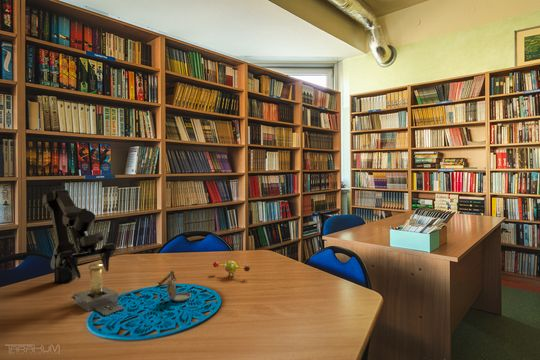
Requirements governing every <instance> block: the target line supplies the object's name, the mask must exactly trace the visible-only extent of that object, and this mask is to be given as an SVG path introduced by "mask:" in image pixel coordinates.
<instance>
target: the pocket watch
mask: <svg viewBox="0 0 540 360" xmlns="http://www.w3.org/2000/svg"><path fill="white" fill-rule="evenodd" d="M169 274H171V273H170V272H169ZM170 279H171V280H170ZM170 279H168V280H167V285H166V286H167V287H166V289H167V294H168V297H169V299H170V300H172V301H174V302H184V301H187V300H188V301H189V299H190V298H191V296H192V294H191V293H190V292H178V293H177V288H176V284H175V282H174V279H173V275H172V274H171V275H170Z"/></svg>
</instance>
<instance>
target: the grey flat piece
mask: <svg viewBox="0 0 540 360" xmlns="http://www.w3.org/2000/svg"><path fill="white" fill-rule="evenodd" d="M72 297H73V298H75V302H74V303H75V305H77V306H78V307H80V308H82V309H83V310H84V311H86V312H90V311H91V312H92V311H94V310H95V311H96V312H97V313H99V312H100V313H99V314H101V313H102V314H101V315H103V316H104V315H105V317H107V316H110V315H112V314H111V313H113V312H116V311H118V312H120V311H119V310H121V311H123V310H122V309H124V308H125V307H122V306H121V305H119V304H118V303H117V302H119V293H118V292H116V291H115V290H113V289H110V288H109V287H106V286H102V295H101V296H98V297H95V298H91V289H88V290H85V291H81V292H78V293H75V294H72ZM124 310H125V309H124ZM116 313H117V312H116ZM109 314H110V315H109ZM113 314H114V313H113ZM106 315H107V316H106Z"/></svg>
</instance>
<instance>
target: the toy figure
mask: <svg viewBox="0 0 540 360" xmlns="http://www.w3.org/2000/svg"><path fill="white" fill-rule="evenodd" d="M212 266H213V267H214V268H218V267H219V266H220V268H224V269H225V271H226V272H227V273H228V275H227V276H228V277H231V278H232V277H235V275H234V273H235V272H236V271H237V270H242V269H243V270H244V272H249V271H250V270H251V269H250V268H251V267H250V266H249V265H244V267H242V266H238V264H237V262H235V261H234V260H229V261H226V263H224V264H223V263H222V264H220V263H219V262H218V261H214V262H213V264H212Z"/></svg>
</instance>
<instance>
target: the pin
mask: <svg viewBox="0 0 540 360" xmlns="http://www.w3.org/2000/svg"><path fill="white" fill-rule="evenodd" d="M103 268H104V266H103V263H102V262H95V263H91V264H89V265H88V270H89V272H90V273H89V274H90V275H89V277H90V279H89V281H90V290H91V298H95V297H98V296H101V295H102V287H103Z"/></svg>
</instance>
